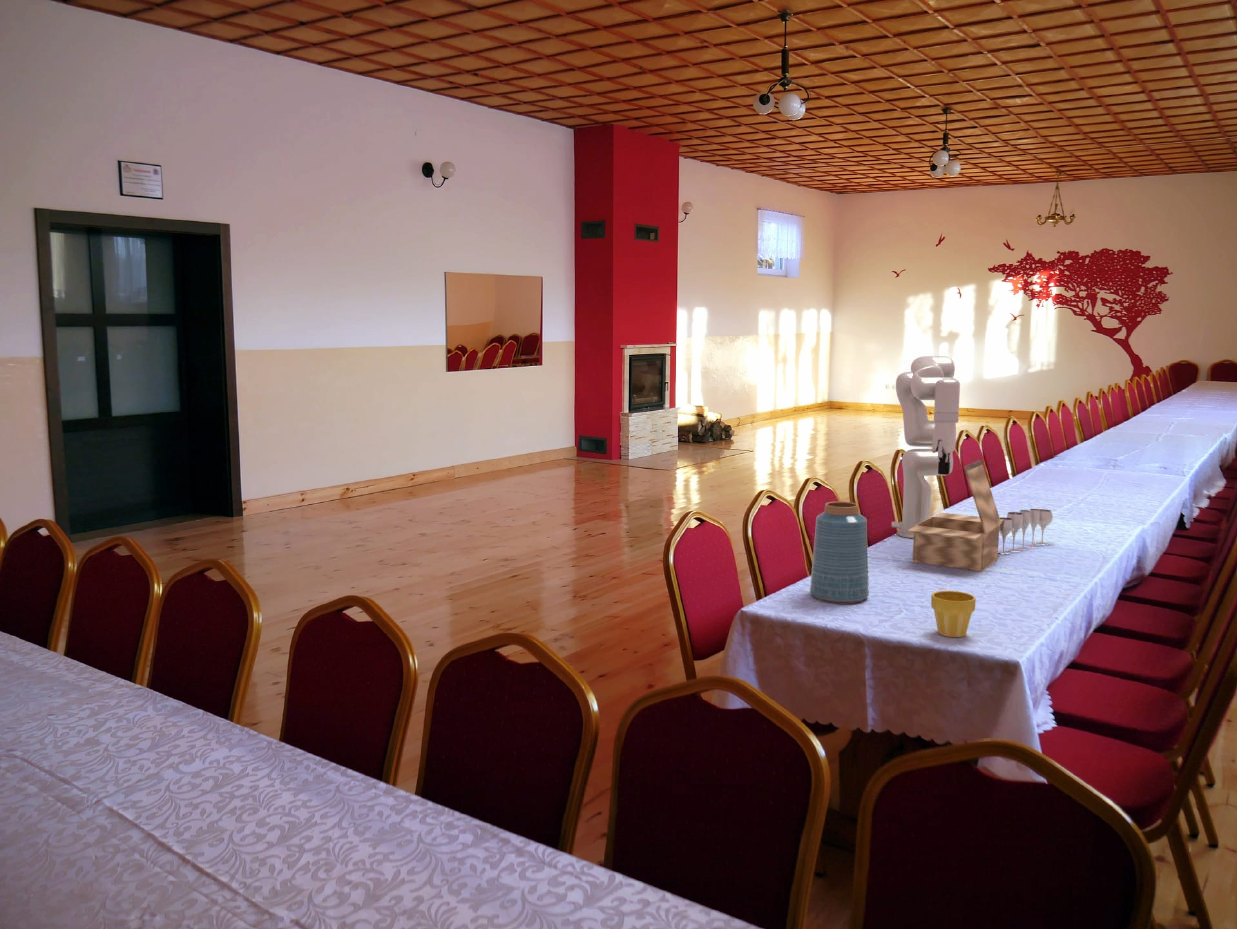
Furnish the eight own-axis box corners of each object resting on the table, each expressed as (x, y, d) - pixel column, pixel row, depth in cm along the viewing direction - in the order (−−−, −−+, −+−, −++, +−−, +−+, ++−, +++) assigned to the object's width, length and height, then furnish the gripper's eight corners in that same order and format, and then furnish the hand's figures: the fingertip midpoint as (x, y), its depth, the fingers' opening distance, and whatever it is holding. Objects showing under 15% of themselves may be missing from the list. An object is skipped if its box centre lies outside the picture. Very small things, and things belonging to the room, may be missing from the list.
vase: (835, 608, 264) (838, 511, 260) (798, 593, 278) (800, 502, 274) (881, 599, 272) (884, 506, 268) (842, 586, 286) (845, 497, 282)
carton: (904, 566, 307) (905, 529, 306) (937, 546, 335) (939, 512, 333) (975, 577, 295) (977, 538, 293) (1003, 554, 322) (1005, 519, 320)
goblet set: (1006, 556, 321) (1008, 516, 319) (991, 552, 326) (993, 514, 324) (1054, 544, 337) (1056, 507, 335) (1039, 541, 342) (1041, 504, 340)
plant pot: (937, 624, 249) (938, 587, 248) (978, 631, 244) (980, 593, 242) (924, 635, 241) (926, 597, 240) (967, 642, 235) (969, 603, 234)
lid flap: (963, 466, 301) (965, 466, 300) (979, 460, 315) (981, 459, 315) (984, 533, 300) (986, 533, 299) (999, 523, 314) (1001, 523, 313)
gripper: (941, 415, 319) (939, 470, 322) (926, 419, 307) (924, 476, 310) (964, 416, 315) (962, 472, 317) (950, 420, 303) (948, 478, 305)
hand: (943, 474), depth 313 cm, fingers closed
